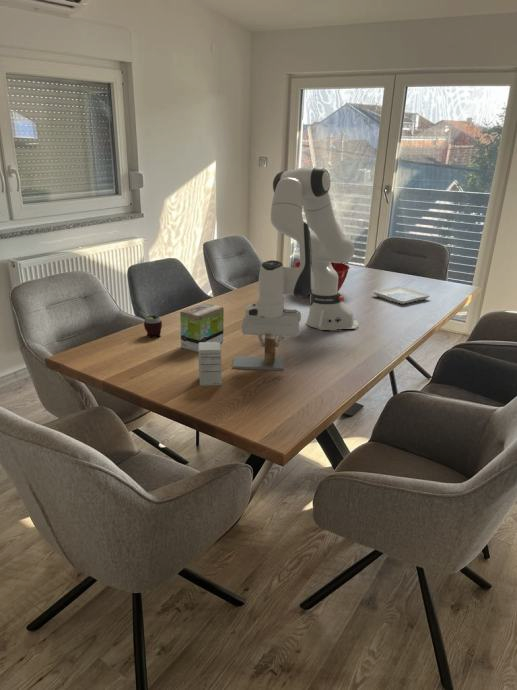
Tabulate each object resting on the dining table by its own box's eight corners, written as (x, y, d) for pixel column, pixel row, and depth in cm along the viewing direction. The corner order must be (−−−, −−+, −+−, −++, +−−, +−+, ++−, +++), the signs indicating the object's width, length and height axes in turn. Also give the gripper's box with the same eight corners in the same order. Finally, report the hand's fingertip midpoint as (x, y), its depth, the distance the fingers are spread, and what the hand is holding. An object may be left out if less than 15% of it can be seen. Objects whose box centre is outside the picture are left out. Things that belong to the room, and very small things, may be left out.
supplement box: (199, 376, 179) (198, 341, 174) (221, 376, 180) (221, 341, 175) (199, 386, 172) (197, 350, 168) (222, 385, 173) (221, 349, 168)
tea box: (201, 353, 199) (200, 315, 193) (180, 348, 204) (178, 311, 198) (224, 341, 211) (224, 306, 205) (204, 336, 216) (203, 301, 210)
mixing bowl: (356, 292, 281) (358, 264, 276) (333, 305, 259) (335, 274, 253) (308, 284, 295) (309, 257, 290) (283, 296, 273) (283, 266, 267)
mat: (284, 359, 194) (284, 357, 194) (283, 370, 185) (283, 368, 184) (235, 357, 195) (235, 355, 195) (232, 368, 186) (232, 366, 185)
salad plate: (430, 301, 270) (431, 294, 268) (402, 307, 258) (403, 300, 257) (398, 291, 286) (399, 285, 285) (370, 297, 274) (371, 290, 273)
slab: (275, 354, 193) (275, 328, 189) (274, 363, 185) (275, 336, 182) (265, 354, 193) (266, 328, 189) (264, 362, 185) (264, 335, 182)
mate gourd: (141, 337, 214) (139, 301, 208) (152, 331, 220) (150, 296, 215) (157, 340, 211) (155, 304, 206) (167, 334, 218) (166, 298, 212)
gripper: (301, 307, 185) (299, 344, 190) (242, 305, 186) (242, 342, 191) (301, 312, 179) (299, 350, 184) (240, 310, 180) (240, 348, 185)
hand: (270, 346), depth 187 cm, fingers closed on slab, 3 cm apart
